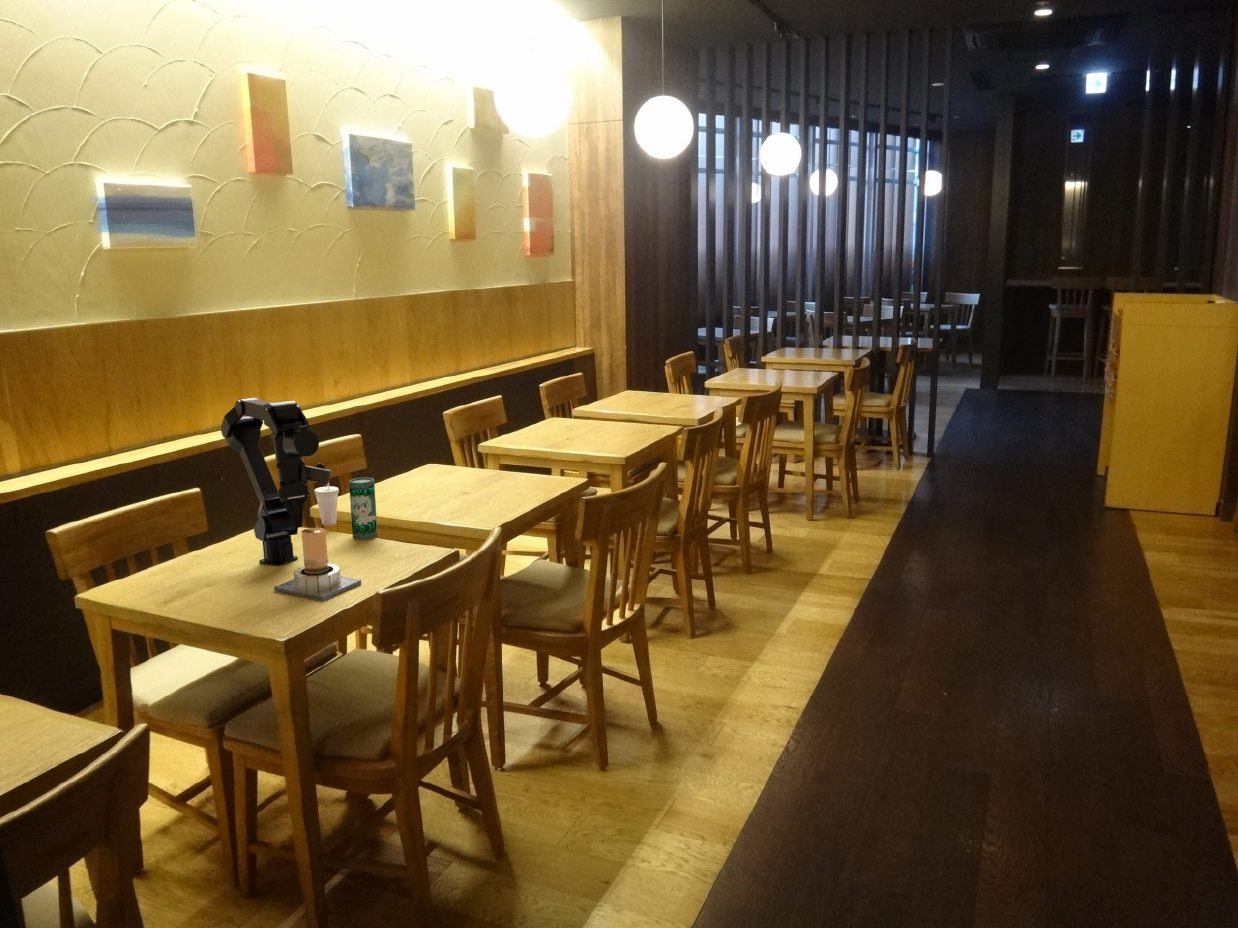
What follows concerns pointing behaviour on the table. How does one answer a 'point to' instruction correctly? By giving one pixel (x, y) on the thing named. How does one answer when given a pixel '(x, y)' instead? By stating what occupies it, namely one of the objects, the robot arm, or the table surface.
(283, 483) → the robot arm
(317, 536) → the tan cylinder
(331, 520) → the smoothie
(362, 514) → the can
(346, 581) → the plate
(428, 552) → the table surface
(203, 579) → the table surface
